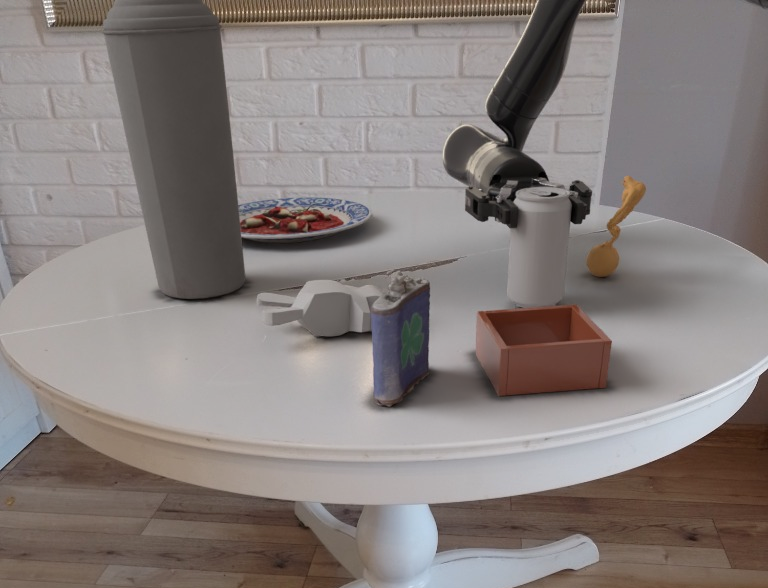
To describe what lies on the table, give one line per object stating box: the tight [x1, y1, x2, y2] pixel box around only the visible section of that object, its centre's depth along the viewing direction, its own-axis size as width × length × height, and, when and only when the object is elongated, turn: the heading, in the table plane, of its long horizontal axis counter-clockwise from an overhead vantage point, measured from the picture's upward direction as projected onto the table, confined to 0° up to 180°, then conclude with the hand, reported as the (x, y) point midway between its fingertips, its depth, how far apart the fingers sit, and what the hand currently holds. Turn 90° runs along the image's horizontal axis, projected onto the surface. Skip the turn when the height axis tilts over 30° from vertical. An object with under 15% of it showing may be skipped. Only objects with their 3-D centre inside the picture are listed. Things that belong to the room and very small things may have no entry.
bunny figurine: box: [256, 279, 385, 338], centre depth 86 cm, size 10×5×15 cm
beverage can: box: [506, 187, 572, 308], centre depth 88 cm, size 6×6×12 cm
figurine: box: [585, 175, 647, 278], centre depth 96 cm, size 8×6×12 cm
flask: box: [371, 269, 431, 408], centre depth 71 cm, size 9×3×11 cm, turn 154°
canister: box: [101, 0, 246, 300], centre depth 92 cm, size 13×13×35 cm
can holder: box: [475, 304, 613, 397], centre depth 75 cm, size 10×10×4 cm
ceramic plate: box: [238, 196, 373, 244], centre depth 125 cm, size 26×26×3 cm
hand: (547, 216), depth 83 cm, fingers closed on beverage can, 6 cm apart
